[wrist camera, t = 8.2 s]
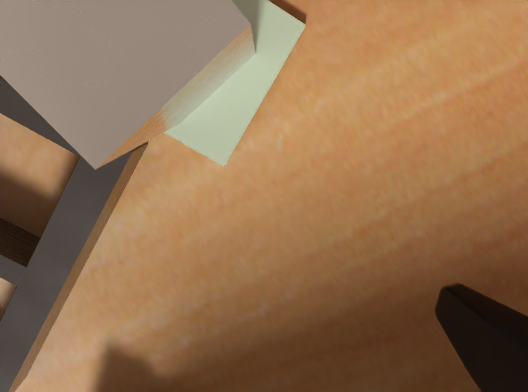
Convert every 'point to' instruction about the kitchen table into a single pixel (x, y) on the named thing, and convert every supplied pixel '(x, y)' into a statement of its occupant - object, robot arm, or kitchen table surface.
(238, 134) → the green mat
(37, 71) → the grey tall rectangular block
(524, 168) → the kitchen table surface
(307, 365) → the kitchen table surface
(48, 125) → the dark grey flat frame
